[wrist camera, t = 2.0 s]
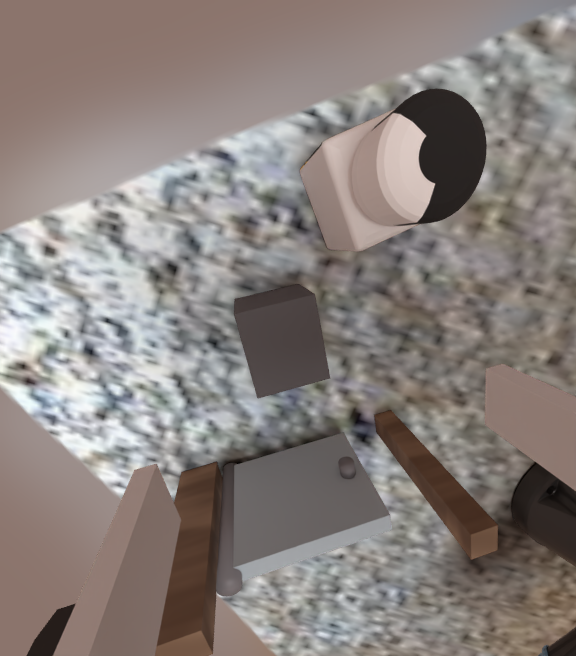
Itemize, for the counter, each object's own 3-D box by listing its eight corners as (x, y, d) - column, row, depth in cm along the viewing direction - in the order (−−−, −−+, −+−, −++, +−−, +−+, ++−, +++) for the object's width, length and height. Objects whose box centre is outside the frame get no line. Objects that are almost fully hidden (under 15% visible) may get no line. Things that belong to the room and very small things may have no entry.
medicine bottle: (374, 135, 24) (495, 38, 13) (396, 218, 26) (517, 199, 15) (297, 169, 24) (352, 102, 13) (327, 251, 26) (396, 256, 15)
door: (344, 442, 32) (396, 538, 22) (225, 478, 31) (220, 599, 20) (340, 421, 31) (392, 510, 21) (218, 457, 30) (208, 572, 19)
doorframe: (392, 427, 33) (497, 550, 20) (188, 489, 31) (152, 675, 17) (390, 410, 32) (498, 525, 19) (181, 472, 30) (137, 652, 17)
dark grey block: (311, 351, 29) (330, 378, 23) (253, 367, 28) (257, 398, 23) (298, 283, 27) (314, 294, 21) (234, 299, 26) (234, 314, 20)
